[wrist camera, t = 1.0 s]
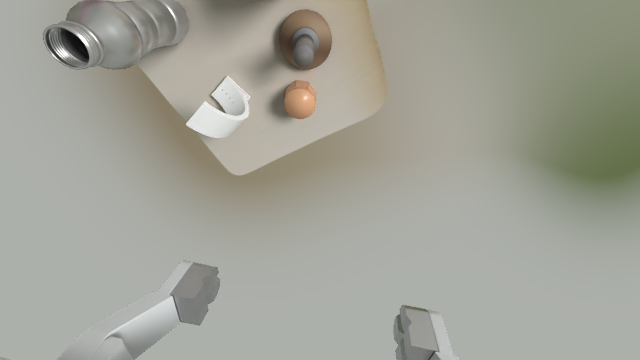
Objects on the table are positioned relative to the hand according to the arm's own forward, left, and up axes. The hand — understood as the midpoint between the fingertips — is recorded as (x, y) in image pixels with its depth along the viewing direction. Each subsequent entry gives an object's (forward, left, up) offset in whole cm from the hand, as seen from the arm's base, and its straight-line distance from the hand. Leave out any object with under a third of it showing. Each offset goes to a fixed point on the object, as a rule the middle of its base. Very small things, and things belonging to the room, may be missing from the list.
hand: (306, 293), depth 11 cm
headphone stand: (+8, -14, -40) cm, 43 cm away
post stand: (-3, -2, -39) cm, 39 cm away
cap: (+6, -2, -39) cm, 40 cm away
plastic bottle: (-3, -22, -40) cm, 45 cm away
